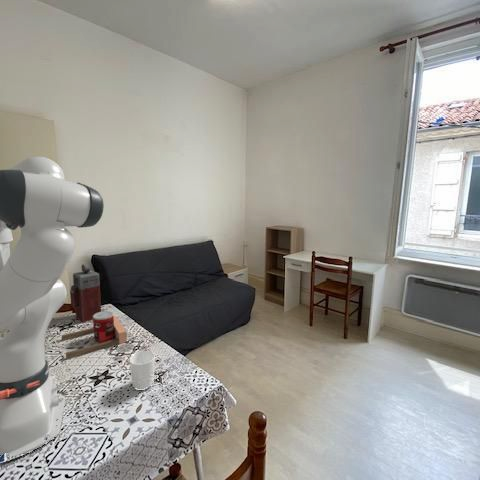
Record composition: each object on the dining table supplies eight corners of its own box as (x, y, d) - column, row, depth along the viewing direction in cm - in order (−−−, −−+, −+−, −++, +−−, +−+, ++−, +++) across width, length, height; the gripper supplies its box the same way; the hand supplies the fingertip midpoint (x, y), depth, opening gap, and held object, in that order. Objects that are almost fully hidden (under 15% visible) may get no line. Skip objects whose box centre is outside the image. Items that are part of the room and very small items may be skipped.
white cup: (129, 394, 86) (128, 366, 84) (132, 378, 94) (131, 352, 92) (155, 390, 88) (154, 362, 86) (155, 374, 96) (155, 349, 94)
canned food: (95, 335, 120) (93, 312, 119) (114, 332, 124) (113, 309, 122) (93, 344, 114) (91, 319, 112) (114, 340, 117) (113, 316, 115)
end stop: (126, 342, 116) (126, 331, 115) (119, 344, 114) (118, 333, 113) (116, 325, 130) (115, 315, 129) (109, 327, 128) (108, 317, 127)
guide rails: (119, 344, 114) (119, 339, 114) (66, 359, 103) (66, 354, 102) (109, 327, 128) (109, 323, 127) (61, 339, 116) (61, 335, 116)
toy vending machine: (70, 318, 135) (66, 264, 131) (94, 311, 144) (90, 260, 139) (78, 324, 130) (73, 268, 125) (101, 316, 138) (98, 264, 134)
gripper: (4, 239, 84) (14, 281, 87) (9, 233, 100) (17, 268, 103) (-23, 243, 80) (-12, 286, 83) (-13, 235, 97) (-4, 272, 99)
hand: (4, 276), depth 93 cm, fingers closed
